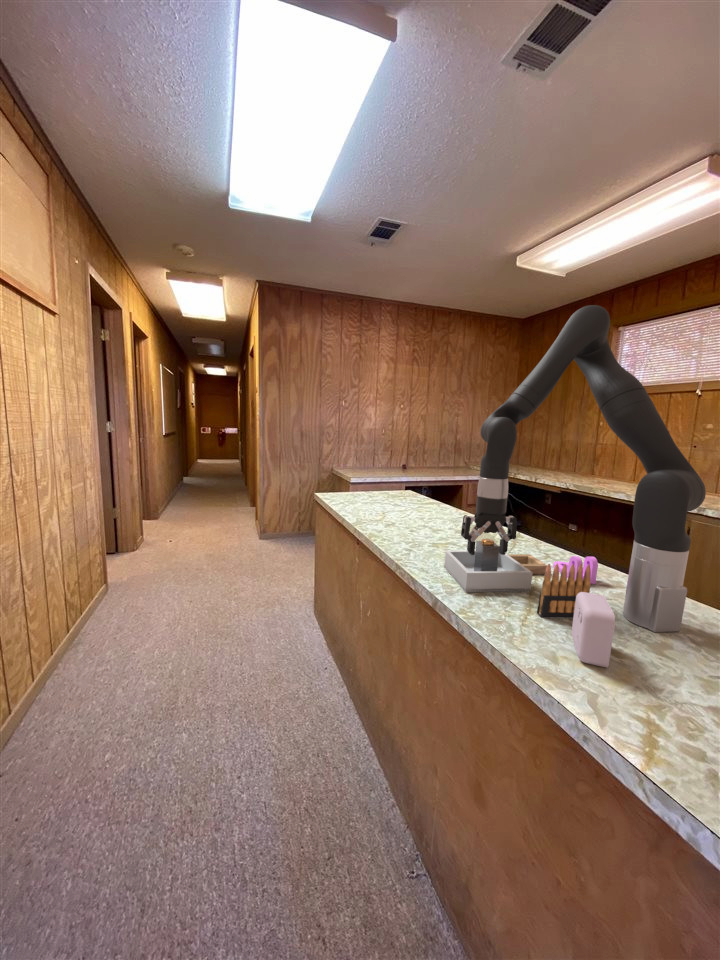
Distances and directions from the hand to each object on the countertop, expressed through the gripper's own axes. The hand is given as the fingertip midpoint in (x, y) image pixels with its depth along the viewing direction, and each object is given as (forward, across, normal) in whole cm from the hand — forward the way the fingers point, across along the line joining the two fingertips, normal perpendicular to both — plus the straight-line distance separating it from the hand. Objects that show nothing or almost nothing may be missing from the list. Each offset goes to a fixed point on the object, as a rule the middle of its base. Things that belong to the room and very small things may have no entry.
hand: (486, 554), depth 101 cm
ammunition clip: (+7, -9, +20) cm, 23 cm away
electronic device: (+7, -5, +33) cm, 34 cm away
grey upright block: (+6, 0, 0) cm, 6 cm away
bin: (+7, 0, 0) cm, 7 cm away
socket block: (+7, -15, -7) cm, 18 cm away
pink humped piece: (+7, -27, -3) cm, 28 cm away
